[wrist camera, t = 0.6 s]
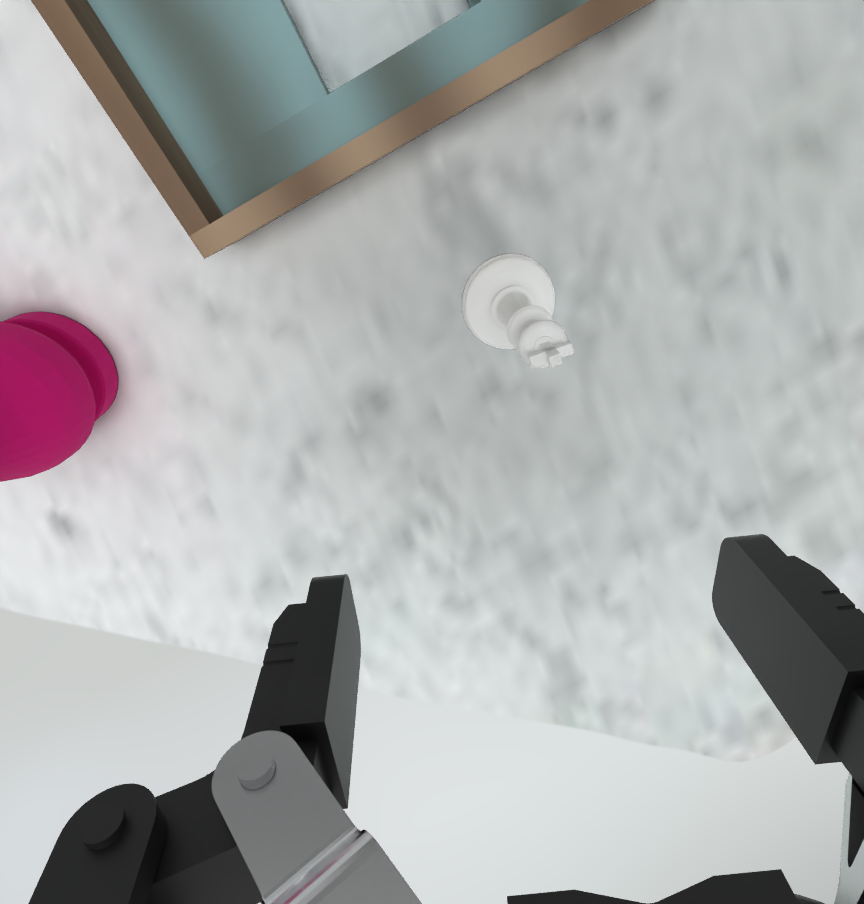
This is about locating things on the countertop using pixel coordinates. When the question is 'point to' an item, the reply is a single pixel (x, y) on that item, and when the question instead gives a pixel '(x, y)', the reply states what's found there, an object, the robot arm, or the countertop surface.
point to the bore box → (288, 93)
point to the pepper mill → (49, 391)
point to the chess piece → (515, 310)
